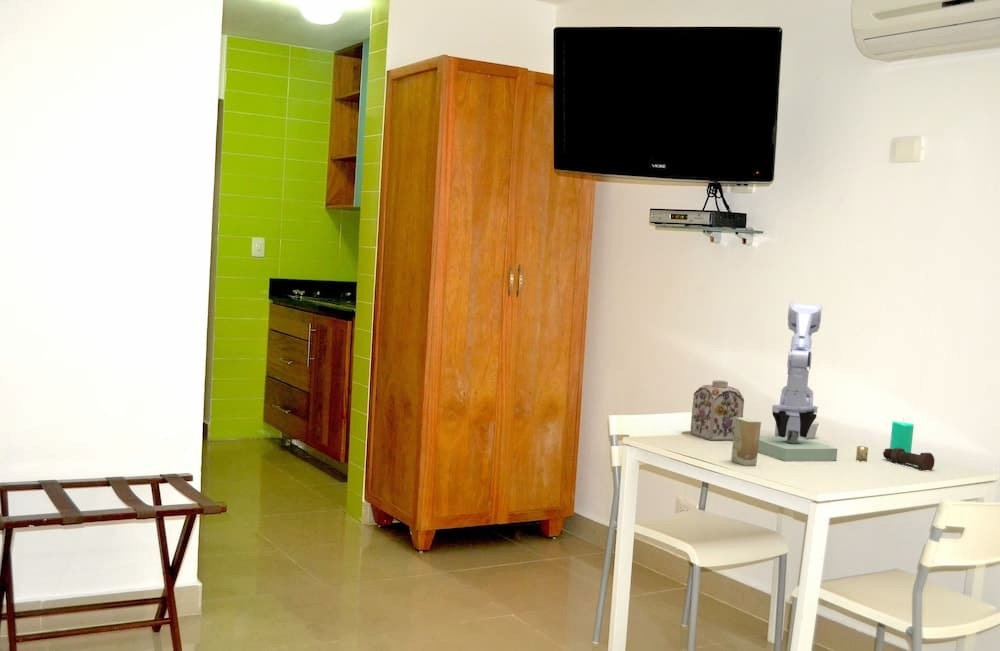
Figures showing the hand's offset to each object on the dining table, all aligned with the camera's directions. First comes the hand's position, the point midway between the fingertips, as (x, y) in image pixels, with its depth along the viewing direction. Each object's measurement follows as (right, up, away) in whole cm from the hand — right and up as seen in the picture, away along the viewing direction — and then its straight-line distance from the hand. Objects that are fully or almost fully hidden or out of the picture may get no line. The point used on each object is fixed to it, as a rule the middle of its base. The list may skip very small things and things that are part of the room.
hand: (792, 436), depth 281 cm
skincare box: (-19, -5, -19) cm, 27 cm away
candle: (+35, -7, +8) cm, 37 cm away
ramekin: (+13, -4, +35) cm, 38 cm away
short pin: (+20, -7, -2) cm, 21 cm away
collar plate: (0, -5, 0) cm, 5 cm away
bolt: (+32, -8, -3) cm, 33 cm away
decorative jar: (-18, -3, +21) cm, 28 cm away
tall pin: (0, -5, 0) cm, 5 cm away
